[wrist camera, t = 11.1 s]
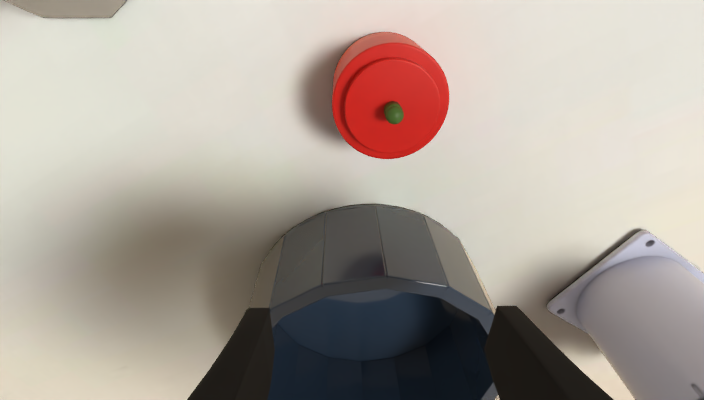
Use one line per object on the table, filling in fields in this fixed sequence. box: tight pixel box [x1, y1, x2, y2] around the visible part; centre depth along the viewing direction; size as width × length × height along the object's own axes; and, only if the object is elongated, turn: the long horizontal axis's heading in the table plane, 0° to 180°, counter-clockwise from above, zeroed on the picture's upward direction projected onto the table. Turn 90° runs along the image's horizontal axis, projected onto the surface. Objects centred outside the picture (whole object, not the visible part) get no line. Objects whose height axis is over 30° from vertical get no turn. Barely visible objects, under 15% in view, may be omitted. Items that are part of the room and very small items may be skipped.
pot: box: [249, 204, 498, 400], centre depth 23 cm, size 15×15×6 cm
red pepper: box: [332, 32, 449, 159], centre depth 16 cm, size 5×5×5 cm
